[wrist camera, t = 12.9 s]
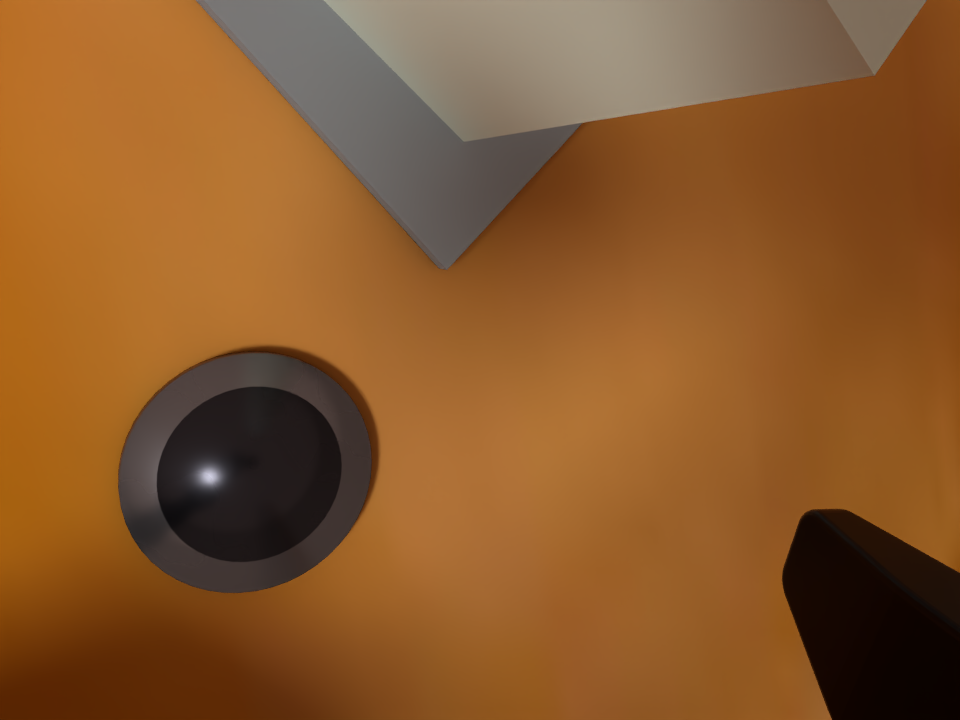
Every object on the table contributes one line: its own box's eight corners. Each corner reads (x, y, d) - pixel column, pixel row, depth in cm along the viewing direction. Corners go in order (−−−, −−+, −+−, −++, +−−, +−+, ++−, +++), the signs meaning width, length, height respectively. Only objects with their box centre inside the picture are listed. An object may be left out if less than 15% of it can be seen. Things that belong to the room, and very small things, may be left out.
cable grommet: (255, 631, 21) (257, 637, 21) (57, 493, 18) (57, 498, 18) (412, 453, 22) (416, 456, 22) (246, 299, 20) (249, 301, 19)
